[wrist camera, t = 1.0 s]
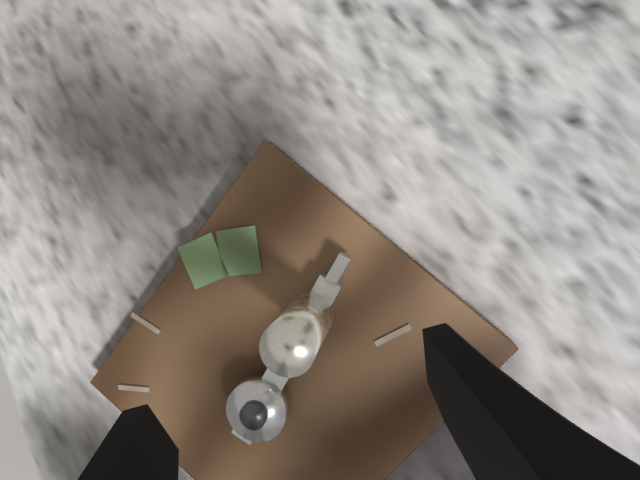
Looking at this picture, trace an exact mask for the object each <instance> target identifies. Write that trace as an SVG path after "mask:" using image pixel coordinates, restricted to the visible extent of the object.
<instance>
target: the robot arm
mask: <svg viewBox="0 0 640 480" xmlns="http://www.w3.org/2000/svg"><path fill="white" fill-rule="evenodd" d="M422 332H423V343H424V353H425V364H426V375H427V382H428V384H429V387H430V389H431V392H432V394H433V397H434V399H435V401H436V404H437V406H438V408H439V411H440V413H441V415H442V418H443V420H444V422H445V424H446V425H447V427H448V429H449V431H450V433H451V435H452V436H453V438H454V440H455V442H456V444H457V446H458V447H459V449H460V451H461V453H462V455H463V457H464V458H465V460H466V462H467V464H468V466H469V468H470V469H471V471H472V473H473V475H474V477H475V478H476V480H640V465H638V464H637V463H635V462H633V461H632V460H630V459H628V458H627V457H625V456H623V455H622V454H620V453H618V452H617V451H615V450H614V449H612V448H610V447H609V446H607V445H606V444H604V443H603V442H601V441H599V440H598V439H596V438H595V437H593V436H592V435H590V434H588V433H587V432H585V431H584V430H582V429H581V428H579V427H578V426H576V425H575V424H573V423H572V422H571V421H569V420H568V419H566V418H565V417H563V416H562V415H560V414H559V413H558V412H556V411H555V410H553V409H552V408H551V407H549V406H548V405H546V404H545V403H544V402H542V401H541V400H539V399H538V398H537V397H535V396H534V395H533V394H531V393H530V392H529V391H527V390H526V389H525V388H523V387H522V386H521V385H520V384H518V383H517V382H516V381H514V380H513V379H512V378H511V377H509V376H508V375H507V374H506V373H504V372H503V371H502V370H500V369H499V368H498V367H497V366H496V365H494V364H493V363H492V362H491V361H489V360H488V359H487V358H486V357H485V356H484V355H482V354H481V353H480V352H479V351H478V350H476V349H475V348H474V347H473V346H472V345H471V344H469V343H468V342H467V341H466V340H465V339H464V338H463V337H462V336H461V335H459V334H458V333H457V332H456V331H455V330H454V329H453V328H452V327H451V326H450V325H448V324H446V323H442V324H439V325H435V326H431V327H428V328H424V329H422ZM178 466H179V449H178V448H177V446H176V445H175V443H174V442H173V440H172V439H171V437H170V436H169V435H168V433H167V432H166V430H165V429H164V427H163V426H162V424H161V423H160V422H159V420H158V419H157V417H156V416H155V414H154V413H153V411H152V410H151V409H150V407H149V406H148V404H145V405H141V406H138V407H134V408H130V409H127V410H123V412H122V413H121V415H120V416H119V418H118V419H117V421H116V422H115V424H114V425H113V427H112V428H111V430H110V431H109V433H108V434H107V436H106V437H105V439H104V440H103V442H102V443H101V445H100V446H99V448H98V450H97V451H96V453H95V454H94V456H93V457H92V459H91V460H90V462H89V463H88V465H87V466H86V468H85V469H84V471H83V472H82V474H81V475H80V477H79V478H78V480H178Z"/></svg>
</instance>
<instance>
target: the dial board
mask: <svg viewBox="0 0 640 480" xmlns="http://www.w3.org/2000/svg"><path fill="white" fill-rule="evenodd" d="M177 249H178V251H179V254H180V256H181V257H180V259H179V260H178V261H177V263H176V264H175V266H174V267H173V268H172V270H171V271H170V272H169V274H168V275H167V277H166V278H165V279H164V281H163V282H162V284H161V285H160V286H159V288H158V289H157V290H156V292H155V293H154V295H153V296H152V297H151V299H150V300H149V302H148V303H147V304H146V306H145V307H144V309H143V310H142V311H141V313H140V314H139V315H138V314H136V313H135V312H132V313H131V315H130V317H132V318H133V319H135V321H134V322H133V324H132V325H131V327H130V328H129V329H128V331H127V332H126V333H125V335H124V336H123V338H122V339H121V340H120V342H119V343H118V345H117V346H116V347H115V349H114V350H113V351H112V353H111V354H110V356H109V357H108V358H107V360H106V361H105V363H104V364H103V365H102V367H101V368H100V370H99V371H98V372H97V374H96V375H95V376H94V378H93V379H92V381H91V382H90V383H91V384H92V385H93V386H95V387H96V388H97V389H98V390H99V391H100V392H101V393H102V394H103V395H104V396H105V397H106V398H107V399H108V400H110V401H111V402H112V403H113V404H114V405H115V406H116V407H117V408H118V409H119V410H120V411H121V412H123V410H127V409H130V408H134V407H138V406H141V405H145V404H148V406H149V407H150V409H151V410H152V411H153V413H154V414H155V416H156V417H157V419H158V420H159V422H160V423H161V424H162V426H163V427H164V429H165V430H166V432H167V433H168V435H169V436H170V437H171V439H172V440H173V442H174V443H175V445H176V446H177V448H178V449H179V466H180V467H182V468H183V469H184V470H185V471H186V472H187V473H188V474H189V475H190V476H191V477H192V478H193V479H194V480H384V479H385V478H386V477H387V476H388V475H389V474H390V473H391V472H392V471H393V470H394V469H395V468H397V467H398V466H399V465H400V464H401V463H402V462H403V461H404V460H405V459H406V458H407V457H408V456H409V455H410V454H411V453H412V452H413V451H414V450H415V449H416V448H417V447H418V446H419V445H420V444H421V443H422V442H423V441H424V440H425V439H426V438H428V437H429V436H430V435H431V434H432V433H433V432H434V431H435V430H436V429H437V428H438V427H439V426H440V425H441V424H442V423H443V422H444V420H443V418H442V415H441V413H440V411H439V408H438V406H437V404H436V401H435V399H434V397H433V394H432V392H431V389H430V387H429V384H428V382H427V375H426V364H425V353H424V343H423V332H422V329H424V328H428V327H431V326H435V325H439V324H442V323H446V324H448V325H450V326H451V327H452V328H453V329H454V330H455V331H456V332H457V333H458V334H459V335H461V336H462V337H463V338H464V339H465V340H466V341H467V342H468V343H469V344H471V345H472V346H473V347H474V348H475V349H476V350H478V351H479V352H480V353H481V354H482V355H484V356H485V357H486V358H487V359H488V360H489V361H491V362H492V363H493V364H494V365H496V366H497V367H498V368H500V367H501V366H502V365H503V364H504V363H505V362H506V361H507V360H508V359H509V358H510V357H511V356H512V355H513V354H514V353H515V352H516V351H517V350H518V348H517V346H516V345H515V344H514V343H513V341H512V340H510V339H509V338H508V337H507V336H505V335H504V334H503V333H502V332H501V331H499V330H498V329H497V328H496V327H495V326H493V325H492V324H491V323H490V322H488V321H487V320H486V319H485V318H484V317H482V316H481V315H480V314H479V313H478V312H476V311H475V310H474V309H473V308H471V307H470V306H469V305H468V304H467V303H465V302H464V301H463V300H462V299H461V298H459V297H458V296H457V295H456V294H454V293H453V292H452V291H451V290H450V289H448V288H447V287H446V286H445V285H444V284H442V283H441V282H440V281H439V280H438V279H436V278H435V277H434V276H433V275H431V274H430V273H429V272H428V271H427V270H425V269H424V268H423V267H422V266H421V265H419V264H418V263H417V262H416V261H414V260H413V259H412V258H411V257H410V256H408V255H407V254H406V253H405V252H404V251H402V250H401V249H400V248H399V247H397V246H396V245H395V244H394V243H393V242H391V241H390V240H389V239H388V238H387V237H385V236H384V235H383V234H382V233H380V232H379V231H378V230H377V229H376V228H374V227H373V226H372V225H371V224H370V223H368V222H367V221H366V220H365V219H363V218H362V217H361V216H360V215H359V214H357V213H356V212H355V211H354V210H353V209H351V208H350V207H349V206H348V205H347V204H345V203H344V202H343V201H342V200H340V199H339V198H338V197H337V196H336V195H334V194H333V193H332V192H331V191H330V190H328V189H327V188H326V187H325V186H323V185H322V184H321V183H320V182H319V181H317V180H316V179H315V178H314V177H313V176H311V175H310V174H309V173H308V172H306V171H305V170H304V169H303V168H302V167H300V166H299V165H298V164H297V163H296V162H294V161H293V160H292V159H291V158H289V157H288V156H287V155H286V154H285V153H283V152H282V151H281V150H280V149H279V148H277V147H276V146H275V145H274V144H272V143H271V142H269V141H267V140H265V141H264V142H263V144H262V145H261V146H260V148H259V149H258V150H257V152H256V153H255V155H254V156H253V157H252V159H251V160H250V162H249V163H248V164H247V166H246V167H245V168H244V170H243V171H242V173H241V174H240V175H239V177H238V178H237V180H236V181H235V182H234V184H233V185H232V187H231V188H230V189H229V191H228V192H227V193H226V195H225V196H224V198H223V199H222V200H221V202H220V203H219V205H218V206H217V207H216V209H215V210H214V211H213V213H212V214H211V216H210V217H209V218H208V220H207V221H206V223H205V224H204V225H203V227H202V228H201V229H200V231H199V232H198V234H197V235H196V236H195V238H194V239H193V241H191V242H188V243H186V244H184V245H182V246H180V247H177ZM341 251H342V252H344V253H346V254H347V255H349V256H351V257H352V258H351V260H350V262H349V263H348V265H347V267H346V269H345V270H344V272H343V274H342V275H341V277H340V279H339V282H341V283H342V284H343V286H342V288H341V289H340V291H339V293H338V294H337V296H336V298H335V300H334V301H333V303H332V305H331V308H332V311H333V322H332V325H331V327H330V329H329V331H328V333H327V335H326V337H325V339H324V341H323V343H322V345H321V347H320V349H319V351H318V353H317V355H316V357H315V359H314V361H313V363H312V365H311V367H310V368H309V369H308V370H307V371H306V372H305V373H304V374H302V375H300V376H298V377H293V378H289V379H288V381H287V382H286V384H285V386H284V388H285V390H286V392H287V394H288V396H289V399H290V413H289V416H288V418H287V420H286V422H285V424H284V426H283V428H282V430H281V432H280V433H279V434H278V435H277V436H276V437H275V438H273V439H271V440H269V441H266V442H253V441H252V443H251V444H250V445H249V444H247V443H246V442H244V441H243V440H241V439H240V438H238V437H237V436H235V435H234V434H232V433H231V432H232V430H233V428H232V427H231V425H230V423H229V421H228V418H227V414H226V404H227V400H228V397H229V395H230V394H231V393H232V391H233V390H234V389H235V388H236V387H237V385H238V384H239V383H240V382H241V381H242V380H243V379H245V378H246V377H248V376H251V375H256V374H261V375H264V373H265V372H266V370H267V367H266V366H265V364H264V363H263V361H262V359H261V356H260V353H259V343H260V339H261V336H262V334H263V333H264V331H265V330H266V329H267V328H268V327H269V326H270V325H271V324H272V323H273V322H274V321H275V320H276V319H277V318H278V317H279V316H280V315H281V314H282V313H283V312H284V311H285V310H286V309H287V308H288V306H289V305H290V304H291V303H292V302H293V301H294V300H295V299H296V298H298V297H299V296H301V295H303V294H308V293H310V292H311V290H312V288H313V286H314V285H315V283H316V281H317V279H318V277H319V276H320V274H321V273H322V272H324V273H325V274H328V272H329V271H330V269H331V267H332V265H333V264H334V262H335V260H336V258H337V257H338V255H339V253H340V252H341Z"/></svg>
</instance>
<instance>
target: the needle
mask: <svg viewBox="0 0 640 480" xmlns="http://www.w3.org/2000/svg"><path fill="white" fill-rule="evenodd" d="M351 258H352V257H351V256H349V255H347V254H346V253H344V252H342V251H341V252H340V253H339V255H338V257H337V258H336V260H335V262H334V264H333V265H332V267H331V269H330V271H329V272H328V274H325V273H324V272H322V273H321V274H320V276H319V277H318V279H317V281H316V283H315V285H314V286H313V288H312V290H311V292H310V293H308V294H303V295H301V296H299V297H298V298H296V299H295V300H294V301H293V302H292V303H291V304H290V305H289V306H288V308H287V309H286V310H285V311H284V312H283V313H282V314H281V315H280V316H279V317H278V318H277V319H276V320H275V321H274V322H273V323H272V324H271V325H270V326H269V327H268V328H267V329H266V330H265V331H264V333H263V334H262V336H261V339H260V343H259V353H260V356H261V359H262V361H263V363H264V364H265V366H266V367H267V370H266V372H265V373H264V375H261V374H256V375H251V376H248V377H246V378H245V379H243V380H242V381H241V382H240V383H239V384H238V385H237V387H236V388H235V389H234V390H233V391H232V393H231V394H230V395H229V397H228V400H227V404H226V414H227V418H228V421H229V423H230V425H231V427H232V428H233V430H232V432H231V433H232V434H234V435H235V436H237V437H238V438H240V439H241V440H243V441H244V442H246V443H247V444H249V445H250V444H251V443H252V441H253V442H266V441H269V440H271V439H273V438H275V437H276V436H277V435H278V434H279V433H280V432H281V430H282V428H283V426H284V424H285V422H286V420H287V418H288V416H289V413H290V399H289V396H288V394H287V392H286V390H285V388H284V386H285V384H286V382H287V381H288V379H289V378H293V377H298V376H300V375H302V374H304V373H305V372H306V371H307V370H308V369H309V368H310V367H311V365H312V363H313V361H314V359H315V357H316V355H317V353H318V351H319V349H320V347H321V345H322V343H323V341H324V339H325V337H326V335H327V333H328V331H329V329H330V327H331V325H332V322H333V311H332V308H331V305H332V303H333V301H334V300H335V298H336V296H337V294H338V293H339V291H340V289H341V288H342V286H343V284H342V283H341V282H339V279H340V277H341V275H342V274H343V272H344V270H345V269H346V267H347V265H348V263H349V262H350V260H351Z"/></svg>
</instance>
